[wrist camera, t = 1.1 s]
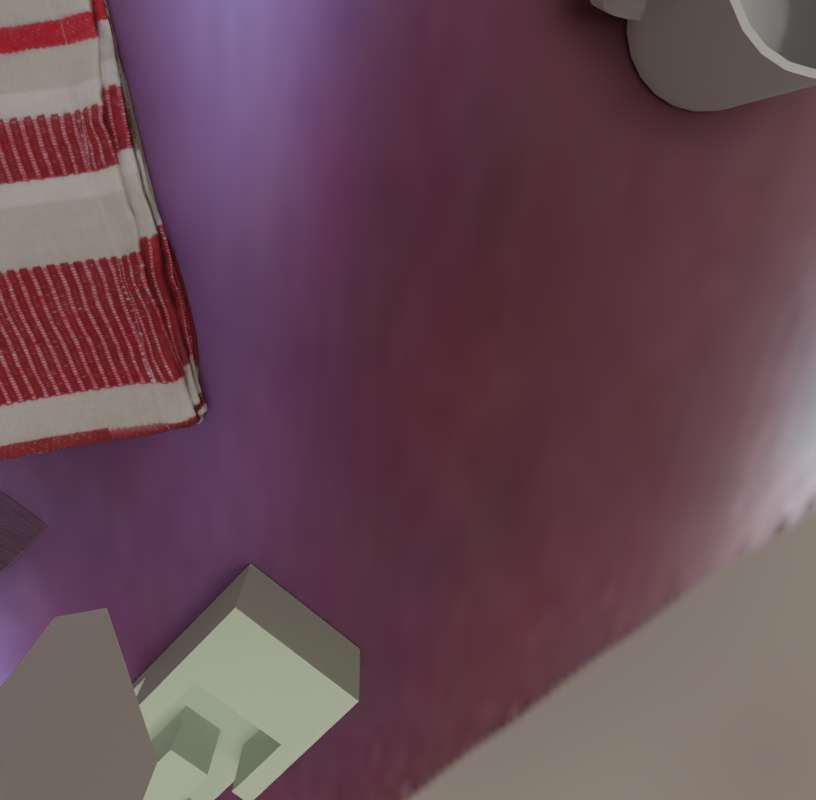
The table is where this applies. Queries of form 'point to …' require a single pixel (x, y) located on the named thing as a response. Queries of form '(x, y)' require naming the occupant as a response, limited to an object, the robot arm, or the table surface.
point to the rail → (244, 692)
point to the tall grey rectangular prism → (15, 531)
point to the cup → (720, 48)
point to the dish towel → (82, 246)
